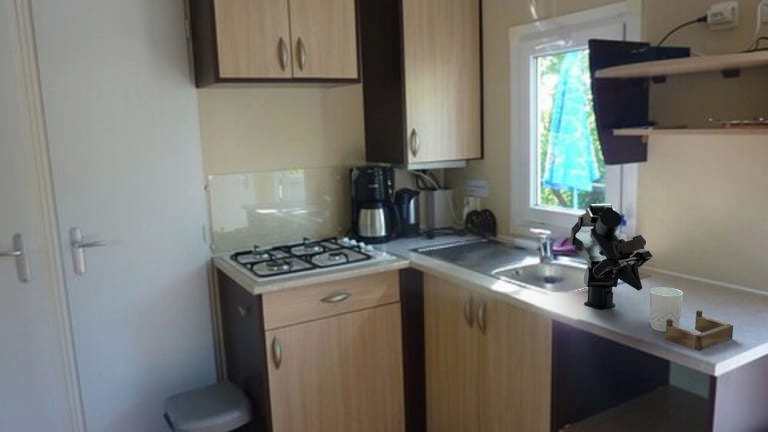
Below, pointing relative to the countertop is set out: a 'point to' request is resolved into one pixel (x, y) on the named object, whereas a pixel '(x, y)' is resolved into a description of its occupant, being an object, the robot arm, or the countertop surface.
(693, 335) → the rack
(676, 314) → the white cup
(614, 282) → the robot arm
